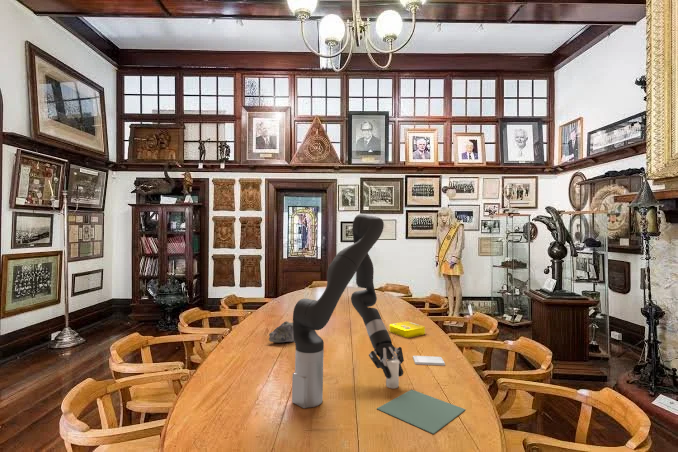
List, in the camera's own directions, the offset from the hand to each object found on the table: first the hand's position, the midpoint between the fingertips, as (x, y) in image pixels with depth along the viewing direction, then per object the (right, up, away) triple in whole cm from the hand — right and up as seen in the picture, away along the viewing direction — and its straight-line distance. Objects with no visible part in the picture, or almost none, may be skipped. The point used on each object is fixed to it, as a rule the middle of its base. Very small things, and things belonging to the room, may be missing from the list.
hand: (395, 376), depth 135 cm
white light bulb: (-1, -4, +2) cm, 5 cm away
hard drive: (+18, -5, +28) cm, 34 cm away
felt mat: (+6, -4, -16) cm, 17 cm away
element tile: (+17, -5, +72) cm, 74 cm away
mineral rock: (-48, -3, +51) cm, 70 cm away
